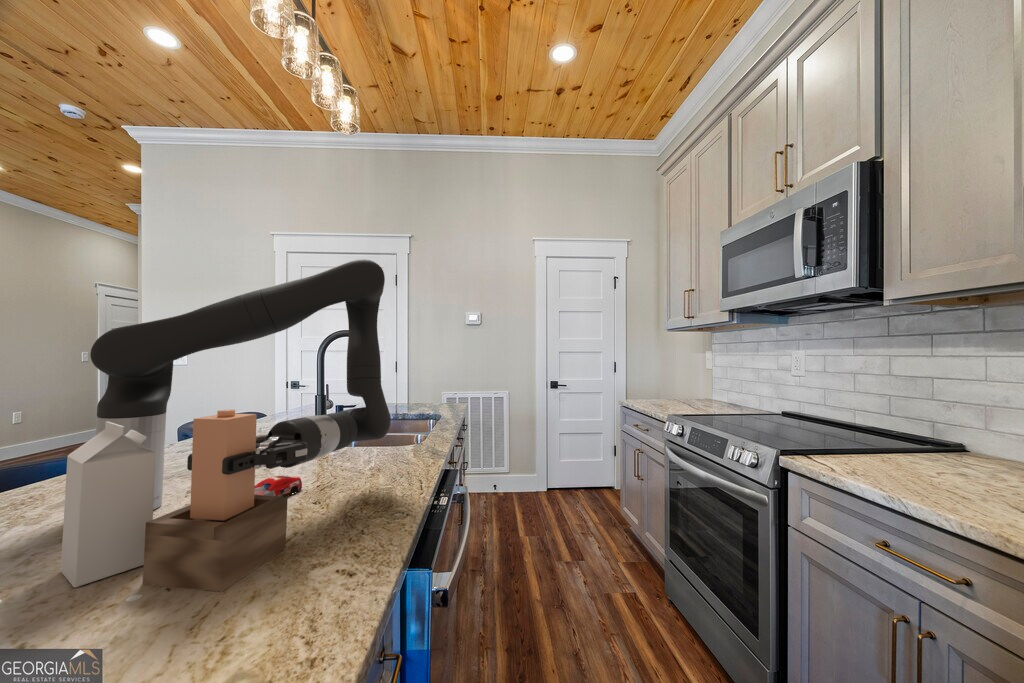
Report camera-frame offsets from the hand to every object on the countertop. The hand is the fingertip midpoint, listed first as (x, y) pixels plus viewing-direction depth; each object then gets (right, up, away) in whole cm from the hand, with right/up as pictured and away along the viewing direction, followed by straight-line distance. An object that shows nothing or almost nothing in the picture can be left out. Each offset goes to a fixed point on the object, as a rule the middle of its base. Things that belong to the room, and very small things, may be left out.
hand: (207, 464), depth 52 cm
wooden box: (0, -14, +2) cm, 14 cm away
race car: (-8, -16, +27) cm, 32 cm away
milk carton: (-14, -14, +1) cm, 20 cm away
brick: (+1, -7, +2) cm, 7 cm away
